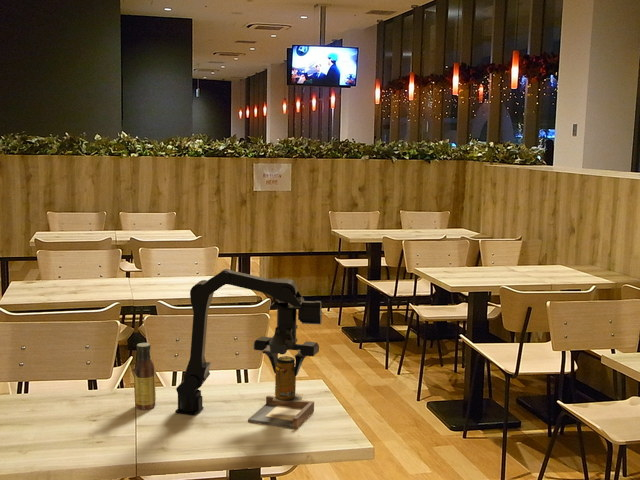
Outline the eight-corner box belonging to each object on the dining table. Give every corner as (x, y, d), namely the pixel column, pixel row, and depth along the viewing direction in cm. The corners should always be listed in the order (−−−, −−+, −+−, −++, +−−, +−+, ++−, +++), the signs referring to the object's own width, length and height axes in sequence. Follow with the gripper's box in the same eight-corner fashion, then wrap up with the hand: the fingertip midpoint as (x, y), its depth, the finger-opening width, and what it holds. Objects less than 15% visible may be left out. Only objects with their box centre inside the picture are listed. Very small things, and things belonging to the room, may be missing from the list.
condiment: (275, 393, 239) (276, 354, 238) (303, 394, 239) (304, 355, 237) (272, 401, 232) (273, 361, 230) (301, 402, 232) (302, 362, 230)
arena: (248, 421, 231) (248, 412, 231) (267, 404, 246) (267, 395, 245) (297, 428, 227) (297, 418, 226) (314, 411, 241) (314, 401, 241)
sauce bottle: (142, 402, 246) (141, 340, 243) (159, 405, 244) (159, 342, 241) (130, 409, 240) (129, 345, 237) (147, 412, 238) (146, 347, 235)
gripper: (246, 326, 228) (245, 378, 230) (307, 332, 222) (306, 386, 224) (261, 317, 238) (260, 367, 241) (320, 323, 233) (319, 375, 235)
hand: (285, 374), depth 235 cm, fingers closed on condiment, 6 cm apart
